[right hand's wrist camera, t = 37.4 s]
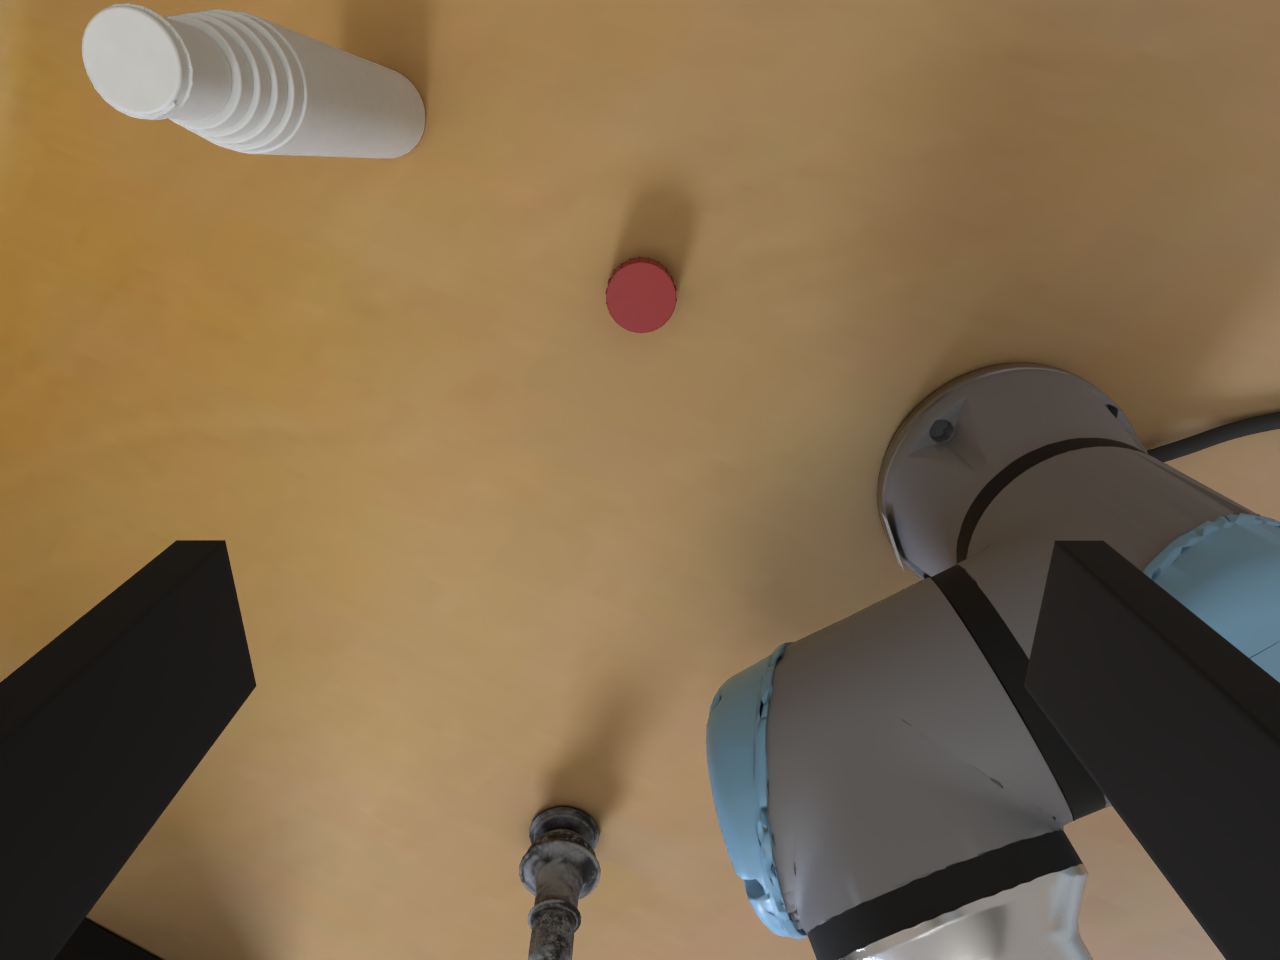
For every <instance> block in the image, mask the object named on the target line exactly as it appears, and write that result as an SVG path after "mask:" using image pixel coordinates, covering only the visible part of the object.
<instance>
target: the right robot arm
mask: <svg viewBox="0 0 1280 960" xmlns="http://www.w3.org/2000/svg"><path fill="white" fill-rule="evenodd" d="M1275 429H1280V413H1274V414H1269V415H1264V416H1259V417H1254V418H1250V419H1245V420H1241V421H1237V422H1234V423H1230V424H1226V425H1223V426H1220V427H1217V428H1214V429H1211V430H1208V431H1205V432H1203V433H1200V434H1197V435H1194V436H1191V437H1189V438H1186V439H1183V440H1179V441H1176V442H1173V443H1170V444H1167V445H1164V446H1161V447H1158V448H1154V449H1151V450H1148V451H1146V449H1145V447H1144V446H1143V444H1142V442H1141V441H1140V439H1139V437H1138V436H1137V435H1136V433H1135V431H1134V429H1133V427H1132V425H1131V424H1130V422H1129V420H1128V419H1127V417H1126V416H1125V414H1124V413H1123V412H1122V410H1121V409H1120V408H1119V407H1118V406H1117V405H1116V404H1115V403H1114V402H1113V401H1112V400H1111V399H1110V398H1109V397H1108V396H1107V395H1105V394H1104V393H1103V392H1102V391H1101V390H1100V389H1098V388H1097V387H1095V386H1094V385H1092V384H1091V383H1089V382H1087V381H1085V380H1083V379H1081V378H1079V377H1077V376H1075V375H1073V374H1071V373H1069V372H1066V371H1064V370H1061V369H1058V368H1055V367H1051V366H1047V365H1041V364H1035V363H1007V364H1000V365H994V366H990V367H986V368H982V369H979V370H976V371H973V372H970V373H967V374H965V375H963V376H961V377H958V378H956V379H954V380H953V381H951V382H949V383H947V384H945V385H944V386H942V387H941V388H939V389H938V390H936V391H935V392H933V393H932V394H931V395H930V396H928V397H927V398H926V399H925V400H924V401H922V402H921V403H920V404H919V405H918V406H917V407H916V408H915V409H914V410H913V411H912V412H911V413H910V415H909V416H908V417H907V418H906V419H905V421H904V422H903V423H902V425H901V426H900V427H899V429H898V430H897V432H896V434H895V435H894V437H893V438H892V440H891V442H890V444H889V446H888V448H887V451H886V453H885V456H884V459H883V462H882V465H881V469H880V473H879V479H878V489H877V501H878V510H879V516H880V519H881V523H882V526H883V529H884V531H885V534H886V536H887V537H888V539H889V541H890V543H891V545H892V546H893V548H894V551H895V554H896V557H897V560H898V563H899V564H900V566H901V567H902V569H903V566H902V563H901V560H900V558H901V559H902V561H903V562H904V563H905V564H906V565H907V566H908V568H909V569H910V570H912V571H913V572H914V573H915V574H916V575H917V576H918V577H919V578H921V579H922V581H920V582H918V583H916V584H914V585H912V586H910V587H908V588H906V589H904V590H902V591H900V592H898V593H896V594H894V595H892V596H890V597H888V598H886V599H884V600H882V601H880V602H878V603H876V604H873V605H871V606H869V607H867V608H865V609H863V610H861V611H859V612H857V613H855V614H853V615H851V616H849V617H847V618H845V619H843V620H841V621H839V622H837V623H834V624H832V625H830V626H828V627H826V628H824V629H822V630H820V631H817V632H815V633H813V634H811V635H809V636H807V637H805V638H802V639H800V640H798V641H796V642H794V643H793V642H789V643H785V644H783V645H780V646H779V647H778V648H777V649H776V650H775V651H774V652H773V653H772V654H771V655H770V656H768V657H766V658H765V659H763V660H761V661H760V662H758V663H756V664H754V665H753V666H751V667H749V668H747V669H745V670H743V671H742V672H740V673H738V674H736V675H734V676H733V677H731V678H730V679H728V680H727V681H726V682H725V683H724V684H723V685H722V686H721V687H720V688H719V690H718V691H717V693H716V694H715V697H714V699H713V702H712V705H711V707H710V712H709V718H708V723H707V730H706V750H707V763H708V771H709V778H710V784H711V790H712V795H713V799H714V804H715V809H716V812H717V816H718V820H719V824H720V828H721V831H722V834H723V838H724V841H725V845H726V848H727V850H728V853H729V856H730V859H731V862H732V864H733V867H734V869H735V871H736V873H737V875H738V877H739V878H741V879H744V884H745V888H746V892H747V896H748V900H749V901H750V903H751V905H752V907H753V909H754V910H755V912H756V914H757V915H758V917H759V918H760V919H761V921H762V922H763V923H764V924H765V925H766V926H767V927H768V928H769V929H770V930H771V931H772V932H773V933H775V934H777V935H779V936H782V937H792V938H794V939H803V938H804V937H806V936H808V937H809V940H810V943H811V945H812V948H813V950H814V953H815V956H816V958H817V960H1093V958H1092V957H1091V955H1090V953H1089V951H1088V950H1087V948H1086V946H1085V944H1084V943H1083V941H1082V939H1081V937H1080V933H1079V926H1078V917H1079V912H1080V907H1081V902H1082V898H1083V894H1084V889H1085V885H1086V880H1087V876H1088V872H1087V870H1086V868H1085V866H1084V864H1083V863H1082V861H1081V860H1080V858H1079V856H1078V854H1077V853H1076V851H1075V849H1074V848H1073V846H1072V844H1071V843H1070V841H1069V839H1068V838H1067V836H1066V834H1065V833H1064V830H1063V826H1064V825H1065V824H1067V823H1069V822H1071V821H1075V820H1076V819H1079V818H1081V817H1083V816H1086V815H1088V814H1091V813H1093V812H1096V811H1098V810H1101V809H1103V808H1106V807H1108V806H1111V805H1112V806H1113V807H1114V809H1115V810H1116V811H1117V813H1118V814H1119V815H1120V817H1121V818H1122V819H1123V821H1124V822H1125V823H1126V825H1127V826H1128V828H1129V829H1130V830H1131V832H1132V833H1133V834H1134V836H1135V837H1136V838H1137V840H1138V841H1139V842H1140V844H1141V845H1142V846H1143V848H1144V849H1145V851H1146V852H1147V853H1148V855H1149V856H1150V857H1151V859H1152V860H1153V861H1154V863H1155V864H1156V865H1157V867H1158V868H1159V869H1160V871H1161V872H1162V874H1163V875H1164V876H1165V878H1166V879H1167V880H1168V882H1169V883H1170V884H1171V886H1172V887H1173V888H1174V890H1175V891H1176V892H1177V894H1178V895H1179V896H1180V898H1181V899H1182V901H1183V902H1184V903H1185V905H1186V906H1187V907H1188V909H1189V910H1190V911H1191V913H1192V914H1193V915H1194V917H1195V918H1196V919H1197V921H1198V922H1199V924H1200V925H1201V926H1202V928H1203V929H1204V930H1205V932H1206V933H1207V934H1208V936H1209V937H1210V938H1211V940H1212V941H1213V942H1214V944H1215V945H1216V947H1217V948H1218V949H1219V951H1220V952H1221V953H1222V955H1223V956H1224V957H1225V959H1226V960H1280V522H1278V521H1276V520H1273V519H1271V518H1267V517H1264V516H1260V515H1259V514H1256V513H1254V512H1252V511H1250V510H1249V509H1247V508H1245V507H1243V506H1241V505H1240V504H1238V503H1236V502H1234V501H1232V500H1230V499H1229V498H1227V497H1225V496H1223V495H1221V494H1220V493H1218V492H1216V491H1214V490H1212V489H1210V488H1209V487H1207V486H1205V485H1203V484H1201V483H1200V482H1198V481H1196V480H1194V479H1192V478H1190V477H1189V476H1187V475H1185V474H1183V473H1181V472H1179V471H1178V470H1176V469H1174V468H1172V467H1170V466H1169V465H1167V464H1165V463H1163V462H1166V461H1169V460H1172V459H1175V458H1179V457H1182V456H1185V455H1188V454H1191V453H1194V452H1197V451H1199V450H1202V449H1205V448H1208V447H1210V446H1213V445H1216V444H1219V443H1222V442H1225V441H1228V440H1231V439H1235V438H1239V437H1243V436H1246V435H1250V434H1255V433H1259V432H1264V431H1269V430H1275ZM899 556H900V557H899ZM903 570H904V569H903ZM255 687H256V682H255V678H254V673H253V668H252V664H251V659H250V654H249V650H248V645H247V640H246V636H245V631H244V626H243V622H242V617H241V612H240V608H239V603H238V598H237V594H236V589H235V584H234V580H233V575H232V570H231V566H230V561H229V556H228V552H227V547H226V542H225V541H175V542H174V543H173V544H172V545H171V546H169V547H168V548H167V549H166V550H164V551H163V552H162V553H161V554H159V555H158V556H157V557H156V558H154V559H153V560H152V561H151V562H149V563H148V564H147V565H146V566H144V567H143V568H142V569H141V570H139V571H138V572H137V573H136V574H135V575H133V576H132V577H131V578H130V579H128V580H127V581H126V582H125V583H123V584H122V585H121V586H120V587H118V588H117V589H116V590H115V591H113V592H112V593H111V594H110V595H108V596H107V597H106V598H105V599H104V600H102V601H101V602H100V603H99V604H97V605H96V606H95V607H94V608H92V609H91V610H90V611H89V612H87V613H86V614H85V615H84V616H82V617H81V618H80V619H79V620H77V621H76V622H75V623H74V624H73V625H71V626H70V627H69V628H68V629H66V630H65V631H64V632H63V633H61V634H60V635H59V636H58V637H56V638H55V639H54V640H53V641H51V642H50V643H49V644H48V645H46V646H45V647H44V648H43V649H42V650H40V651H39V652H38V653H37V654H35V655H34V656H33V657H32V658H30V659H29V660H28V661H27V662H25V663H24V664H23V665H22V666H20V667H19V668H18V669H17V670H15V671H14V672H13V673H12V674H11V675H9V676H8V677H7V678H6V679H4V680H3V681H2V682H1V683H0V960H54V959H55V957H56V956H57V955H58V953H59V952H60V951H61V949H62V948H63V947H64V945H65V944H66V942H67V941H68V940H69V938H70V937H71V936H72V934H73V933H74V932H75V930H76V929H77V928H78V926H79V925H80V924H81V922H82V921H83V919H84V918H85V917H86V915H87V914H88V913H89V911H90V910H91V909H92V907H93V906H94V905H95V903H96V902H97V901H98V899H99V898H100V896H101V895H102V894H103V892H104V891H105V890H106V888H107V887H108V886H109V884H110V883H111V882H112V880H113V879H114V878H115V876H116V875H117V874H118V872H119V871H120V869H121V868H122V867H123V865H124V864H125V863H126V861H127V860H128V859H129V857H130V856H131V855H132V853H133V852H134V851H135V849H136V848H137V846H138V845H139V844H140V842H141V841H142V840H143V838H144V837H145V836H146V834H147V833H148V832H149V830H150V829H151V828H152V826H153V825H154V823H155V822H156V821H157V819H158V818H159V817H160V815H161V814H162V813H163V811H164V810H165V809H166V807H167V806H168V805H169V803H170V802H171V800H172V799H173V798H174V796H175V795H176V794H177V792H178V791H179V790H180V788H181V787H182V786H183V784H184V783H185V782H186V780H187V779H188V777H189V776H190V775H191V773H192V772H193V771H194V769H195V768H196V767H197V765H198V764H199V763H200V761H201V760H202V759H203V757H204V756H205V755H206V753H207V752H208V750H209V749H210V748H211V746H212V745H213V744H214V742H215V741H216V740H217V738H218V737H219V736H220V734H221V733H222V732H223V730H224V729H225V727H226V726H227V725H228V723H229V722H230V721H231V719H232V718H233V717H234V715H235V714H236V713H237V711H238V710H239V709H240V707H241V706H242V704H243V703H244V702H245V700H246V699H247V698H248V696H249V695H250V694H251V692H252V691H253V690H254V688H255Z"/></svg>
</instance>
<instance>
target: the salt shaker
mask: <svg viewBox="0 0 1280 960" xmlns="http://www.w3.org/2000/svg"><path fill="white" fill-rule="evenodd" d="M529 837H530V840H531V843H532V845H531V846H530V848H529V849H528V852H527V853H526V854H525V855H524V856H523V858H522V860H521V863H520V866H519V875H520V878H521V881H522V883H523V884H524V886H525V887H526V889H527V890H528V891H530V892H531V893H532V894H533V895H535V896H536V897H535V904H534V907H533V908H532V909H531V910H530V912H529V915H528V923H529V926H530V927H531V929H532V934H531V941H530V948H529V955H528V960H572V952H573V940H574V933H575V932H576V930H577V929H578V928H579V926H580V924H581V916H580V912H579V911H578V909H577V907H578V900H579V899H581V898H583V897H585V896H587V895H588V894H590V893H591V892H592V891H593V890H594V889H595V888H596V886H597V884H598V882H599V880H600V872H601V870H600V866H599V862H598V861H597V859H596V856H595V853H594V850H593V849H594V848H595V847H596V845H597V842H598V837H599V832H598V828H597V825H596V824H595V822H594V820H593V819H592V818H591V817H590V816H588V815H587V814H586V813H584V812H582V811H580V810H577V809H573V808H567V807H559V808H552V809H549V810H547V811H544V812H543V813H541V814H540V815H538V816H537V817H536V818H535V819H534V821H533V822H532V825H531V827H530V835H529Z"/></svg>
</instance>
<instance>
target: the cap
mask: <svg viewBox="0 0 1280 960" xmlns="http://www.w3.org/2000/svg"><path fill="white" fill-rule="evenodd" d="M608 284H609V285H608V288H607V290H606V294H607V295H606V304H607V307H608V310H609V313H610V314H611V316H612V318H613V319H614V320H615V321H616V323H618V324H619V325H620V326H621V327H623V328H624V329H626V330H629V331H631V332H635V333H647V332H651V331H654V330H656V329H658V328H660V327H661V326H663V325H664V324H665V323H666V322H667V321H668V320H669V318H670V317H671V315H672V313H673V311H674V308H675V304H676V301H677V299H676V287H675V285H674V284H673V278H672V276H670V274H669V272H668V271H667V268H664V267H663V266H662V265H661V264H660V263H659V262H656V261H654V260H652V259H650V258H649V259H648V258H641V257H639V258H634V259H631V258H630V259H629V260H628V261H626V262H624V263H623V264H622V263H621V264H620V266H619V267H618V268H617V269H616V270H614V271H613V274H612V276H611V278H609V281H608Z"/></svg>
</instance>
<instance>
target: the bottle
mask: <svg viewBox="0 0 1280 960" xmlns="http://www.w3.org/2000/svg"><path fill="white" fill-rule="evenodd" d="M82 57H83V62H84V66H85V69H86V71H87V74H88V76H89V78H90V80H91V82H92V83H93V85H94V88H95V89H96V90H97V92H98V93H99V94H100V95H101V96H102V97H103V99H104V100H105V101H106V102H107V103H109V104H110V105H111V106H112V107H114V108H115V109H116V110H118V111H120V112H122V113H124V114H126V115H128V116H130V117H135V118H140V119H149V120H159V119H166V118H168V119H170V120H171V121H173V122H175V123H177V124H179V125H181V126H183V127H184V128H186V129H188V130H189V131H191V132H194V133H195V134H197V135H199V136H201V137H202V138H205V139H206V140H208V141H210V142H212V143H213V144H216V145H218V146H220V147H223V148H227V149H231V150H234V151H238V152H241V153H248V154H270V155H300V156H329V157H359V158H397V157H401V156H403V155H405V154H407V153H408V152H410V151H411V150H412V149H413V148H414V147H415V146H416V145H417V144H418V142H419V141H420V139H421V137H422V135H423V132H424V128H425V109H424V104H423V101H422V99H421V96H420V94H419V92H418V91H417V89H416V88H415V86H414V85H413V84H412V83H411V82H410V81H409V80H408V79H407V78H406V77H405V76H403V75H402V74H400V73H399V72H396V71H394V70H392V69H389V68H387V67H384V66H382V65H379V64H377V63H374V62H371V61H369V60H366V59H364V58H361V57H359V56H356V55H354V54H351V53H348V52H346V51H343V50H341V49H338V48H336V47H333V46H331V45H328V44H326V43H323V42H320V41H318V40H315V39H313V38H310V37H308V36H305V35H303V34H300V33H298V32H295V31H292V30H290V29H287V28H285V27H282V26H280V25H277V24H275V23H272V22H270V21H267V20H264V19H262V18H259V17H257V16H254V15H251V14H248V13H245V12H238V11H230V10H224V9H214V10H207V11H200V12H194V13H186V14H181V15H173V16H168V17H163V16H161V15H160V14H158V13H156V12H155V11H154V10H153V9H149V8H146V7H143V6H139V5H134V4H130V3H128V4H115V5H112V6H110V7H108V8H105V9H102V10H101V11H100V12H99V13H97V14H96V15H95V16H94V17H93V18H92V19H91V20H90V22H89V23H88V25H87V27H86V29H85V31H84V35H83V39H82Z"/></svg>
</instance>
